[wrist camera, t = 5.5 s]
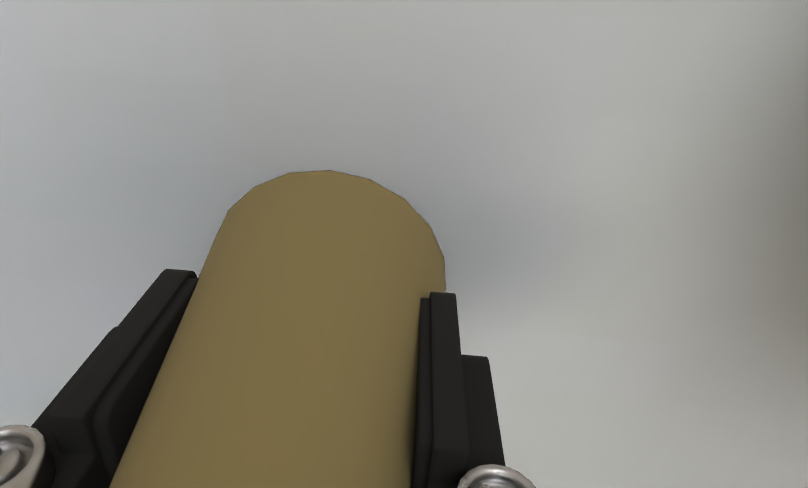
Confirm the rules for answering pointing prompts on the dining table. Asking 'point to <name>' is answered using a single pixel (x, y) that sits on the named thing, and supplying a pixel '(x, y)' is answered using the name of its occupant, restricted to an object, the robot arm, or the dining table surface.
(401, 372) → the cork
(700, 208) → the dining table surface
